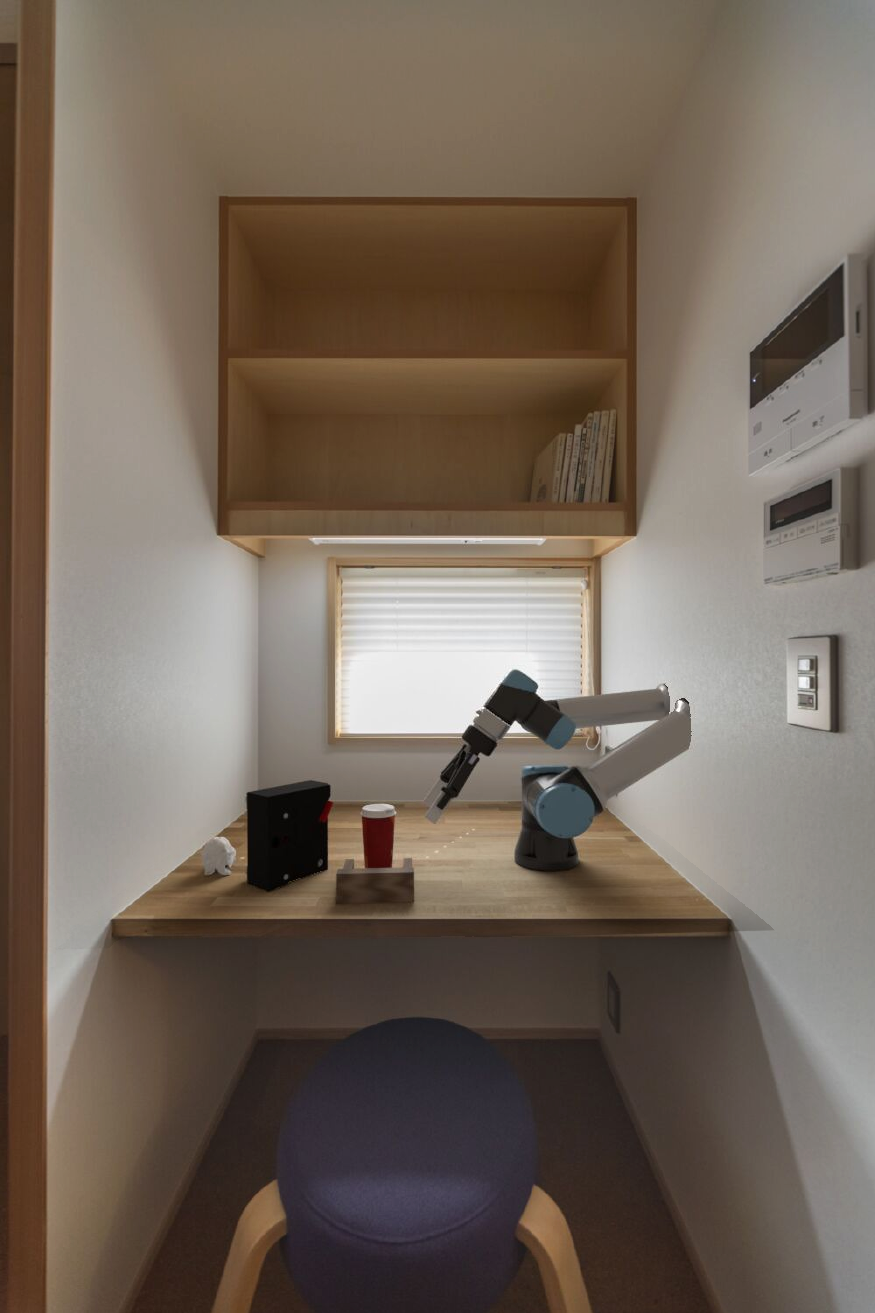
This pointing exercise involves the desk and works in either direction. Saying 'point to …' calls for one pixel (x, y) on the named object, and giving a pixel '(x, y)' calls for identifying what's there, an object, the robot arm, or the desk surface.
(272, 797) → the electrical component
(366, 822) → the coffee cup
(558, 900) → the desk surface
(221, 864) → the white figurine
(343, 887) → the guide channel
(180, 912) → the desk surface
